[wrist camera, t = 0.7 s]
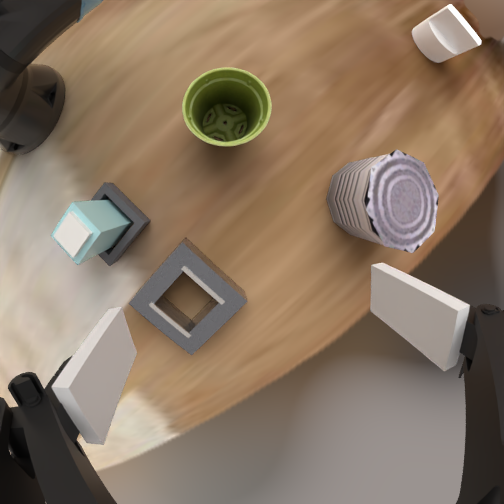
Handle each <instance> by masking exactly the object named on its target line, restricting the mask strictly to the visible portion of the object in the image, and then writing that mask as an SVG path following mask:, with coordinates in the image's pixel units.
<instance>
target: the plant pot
mask: <svg viewBox="0 0 504 504" xmlns="http://www.w3.org/2000/svg"><path fill="white" fill-rule="evenodd" d="M227 107H232V108H234V109H236V112H235V111H233V110H231V109H229V108H227ZM182 113H183V117H184V120H185V123H186V125H187V127H188V128H189V130H190V131H191V132H192V133H193V134H194V135H195V136H196V137H198V138H199V139H201V140H202V141H204V142H206V143H209V144H212V145H216V146H224V147H228V146H237V145H241V144H244V143H246V142H249V141H250V140H252V139H254V138H255V137H256V136H258V135H259V134H260V133H261V132H262V131H263V129H264V128H265V127H266V125H267V123H268V121H269V118H270V115H271V99H270V95H269V93H268V91H267V89H266V87H265V85H264V84H263V83H262V82H261V81H260V80H259V79H258V78H257V77H256V76H254V75H253V74H251V73H249V72H247V71H245V70H241V69H237V68H218V69H214V70H211V71H208V72H206V73H204V74H202V75H201V76H199V77H198V78H197V79H195V80H194V81H193V82H192V83H191V85H190V86H189V87H188V89H187V91H186V93H185V95H184V98H183V103H182ZM210 113H212V115H211V117H210V119H209V122H207V121H206V120H207V118H208V115H209V114H210ZM224 121H226V122H227V124H226V125H224V124H223V122H224ZM242 125H243V126H244V128H243V130H242V132H241V133H240V134H239V131H240V129H241V126H242ZM213 136H216V137H218V138H220V139H223V141H219V140H216V139H214V137H213Z"/></svg>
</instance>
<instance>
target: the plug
mask: <svg viewBox="0 0 504 504" xmlns="http://www.w3.org/2000/svg"><path fill="white" fill-rule="evenodd" d="M133 223H134V222H133V221H132V220H131V219H130V218H129V217H128V216H127V215H126V214H125V213H124V212H123V211H122V210H121V209H120V208H119V207H118V206H117V205H116V204H115V203H114V202H113V201H112V200H95V201H79V202H72V203H71V205H70V206H69V208H68V209H67V211H66V212H65V214H64V215H63V217H62V218H61V220H60V221H59V223H58V225H57V226H56V228H55V229H54V231H53V233H52V234H51V237H52V238H53V239H54V240H55V241H56V242H57V243H58V245H59V246H60V247H61V248H62V249H63V250H64V251H65V252H66V253H67V254H68V256H69V257H70V258H71V259H72V260H73V261H74V262H75V263H76V264H77V265H79V264H81V263H83V262H85V261H86V260H88V259H90V258H92V257H94V256H96V255H98V254H100V253H102V252H103V251H105V250H107V249H109V248H111V247H113V246H115V245H116V244H117V243H118V242H119V240H120V239H121V238H122V237H123V235H124V234H125V233H126V232H127V230H128V229H129V228H130V227H131V225H132V224H133Z"/></svg>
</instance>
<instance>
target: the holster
mask: <svg viewBox="0 0 504 504" xmlns="http://www.w3.org/2000/svg"><path fill="white" fill-rule="evenodd" d="M109 198H110V199H111V200H112V201H113V202H114V203H115V204H116V205H117V206H118V207H119V208H120V209H121V210H122V211H123V212H124V213H125V214H126V215H127V216H128V217H129V218H130V219H131V220H132V221H133V222H134V224H133V225H132V227H131V228H130V229H129V230H128V232H127V233H126V234H125V235H124V237H123V238H122V239H121V240H120V242H119V243H118V244H117V245H116V247H115V248H114V249H113V248H112V247H111V248H109V249H107V250H105V251H103V252H102V253H100V254H98V255H99V256H100V257H101V258H102V259H103V260H104V261H105V262H106V263H107V264H108V265H109V266H111V265H112V264H114V263H115V262H116V261H117V260H118V259H119V258H120V257H121V255H122V254H123V253H124V252H125V250H126V249H127V248H128V247H129V245H130V244H131V243H132V242H133V241H134V239H135V238H136V237H137V236H138V235H139V233H140V232H141V231H142V230H143V229H144V228H145V226H146V225H147V224H148V223H149V222H150V220H149V219H148V218H147V217H146V216H145V215H144V214H143V213H142V212H141V211H140V210H139V209H138V208H137V207H136V206H135V205H134V204H133V203H132V202H131V201H130V200H129V199H128V198H127V197H126V196H125V195H124V194H123V193H122V192H121V191H120V190H119V189H118V188H117V187H116V186H115V185H114V184H113V183H106V182H105V183H104V184H103V185H102V187H101V188H100V189H99V190H98V192H97V193H96V194H95V196H94V197H93V198H92V200H91V201H95V200H108V199H109Z"/></svg>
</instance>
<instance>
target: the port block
mask: <svg viewBox="0 0 504 504" xmlns="http://www.w3.org/2000/svg"><path fill="white" fill-rule="evenodd" d="M183 271H184V272H185V273H186V274H187V275H188V276H189V277H190V278H192V279H193V280H194V281H195V282H196V283H197V284H198V285H199V286H201V287H202V288H203V289H204V290H205V291H206V292H207V293H209V294H210V295H211V296H212V297H213V299H212V300H211V301H210V302H209V303H208V304H207V305H206V306H205V307H204V308H203V309H202V310H201V311H200V312H199V313H198V314H197V315H196V316H195V317H194V318H193V319H192V320H190V319H189V318H188V317H187V316H186V315H184V314H183V313H182V312H181V311H180V310H178V309H177V308H176V307H175V306H174V305H173V304H171V303H170V302H169V301H168V300H167V299H166V298H165V297H163V296H162V294H163V293H164V292H165V291H166V290H167V289H168V288H169V287H170V285H171V284H172V283H173V282H174V281H175V280H176V279H177V278H178V277H179V276H180V275H181V273H182V272H183ZM246 302H247V298H246V295H245V291H244V290H243V289H242V288H240V287H239V286H238V285H237V284H236V283H235V282H234V281H233V280H232V279H230V278H229V277H228V276H227V275H226V274H225V273H224V272H223V271H222V270H220V269H219V268H218V267H217V266H216V265H215V264H214V263H213V262H212V261H211V260H210V259H208V258H207V257H206V256H205V255H204V254H203V253H202V252H201V251H200V250H199V249H198V248H197V247H195V246H194V245H193V244H192V243H191V242H190V241H189V240H188V239H187V238H185V239H184V240H183V241H182V242H181V243H180V245H179V246H178V247H177V248H176V249H175V250H174V251H173V252H172V253H171V254H170V256H169V257H168V258H167V259H166V260H165V261H164V262H163V263H162V265H161V266H160V267H159V268H158V269H157V270H156V271H155V273H154V274H153V275H152V276H151V277H150V278H149V279H148V281H147V282H146V283H145V284H144V285H143V286H142V288H141V289H140V290H139V291H138V292H137V293H136V295H135V296H134V297H133V299H132V300H131V301H130V303H129V304H130V305H131V306H132V307H133V308H134V309H136V310H137V311H138V312H139V313H140V314H141V315H142V316H144V317H145V318H146V319H147V320H148V321H149V322H151V323H152V324H153V325H154V326H155V327H157V328H158V329H159V330H160V331H162V332H163V333H164V334H165V335H166V336H168V337H169V338H170V339H171V340H173V341H174V342H175V343H177V344H178V345H179V346H180V347H182V348H183V349H184V350H186V351H187V352H188V353H190V354H191V355H192V354H193V353H194V352H195V351H197V350H198V349H199V348H200V347H201V346H202V345H203V344H204V343H205V342H206V341H207V340H208V339H209V338H210V337H211V336H212V335H213V334H214V333H215V332H216V331H217V330H218V329H220V328H221V327H222V326H223V325H224V324H225V323H226V322H227V321H228V320H229V319H230V318H231V317H232V316H233V315H234V314H235V313H236V312H237V311H238V310H239V309H240V308H241V307H242V306H243V305H244V304H245V303H246Z"/></svg>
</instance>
